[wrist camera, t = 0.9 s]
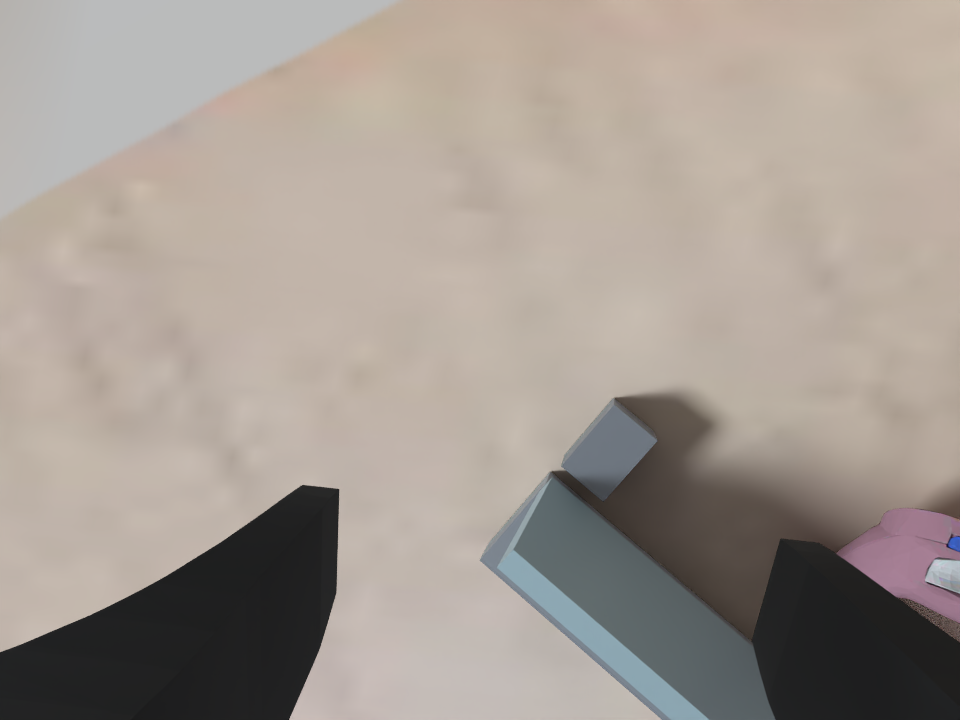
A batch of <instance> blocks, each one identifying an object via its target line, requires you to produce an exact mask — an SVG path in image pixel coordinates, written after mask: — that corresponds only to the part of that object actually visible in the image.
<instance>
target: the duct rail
mask: <svg viewBox="0 0 960 720" xmlns="http://www.w3.org/2000/svg"><path fill="white" fill-rule="evenodd" d="M657 441H658V440H657V438H656V435H655V433H654V431H653V430H652V429H651V428H650V427H648V426H647V425H646V424H645V423H644V422H642V421H641V420H640V419H639V418H637V417H636V416H635V415H634V414H633V413H631V412H630V411H629V410H628V409H626V408H625V407H624V406H623V405H622V404H620V403H619V402H618V401H617V400H616V399H614V398H613V399H612V400H611V401H610V403H609V404H608V405H607V406H606V407H605V408H604V410H603V411H602V412H601V413H600V414H599V415H598V417H597V418H596V419H595V420H594V421H593V422H592V424H591V425H590V426H589V427H588V428H587V429H586V431H585V432H584V433H583V434H582V435H581V436H580V438H579V439H578V440H577V441H576V442H575V443H574V444H573V446H572V447H571V448H570V449H569V450H568V451H567V453H566V454H565V455H564V459H563V462H562V465H561V467H563V468H564V469H565V470H566V471H567V472H569V473H570V474H571V475H572V476H573V477H574V478H576V479H577V480H578V481H579V482H580V483H582V484H583V485H584V486H585V487H586V488H587V489H589V490H590V491H591V492H592V493H593V494H595V495H596V496H597V497H598V498H599V499H601V500H602V501H603V502H604V501H605V500H606V498H607V497H608V496H609V495H610V494H611V493H612V492H613V491H614V489H615V488H616V487H617V486H618V485H619V484H620V483H621V481H622V480H623V479H624V478H625V477H626V476H627V475H628V474H629V472H630V471H631V470H632V469H633V468H634V467H635V466H636V464H637V463H638V462H639V461H640V460H641V459H642V458H643V457H644V455H645V454H646V453H647V452H648V451H649V450H650V449H651V448H652V446H653V445H654V444H655V443H656V442H657ZM552 477H553V478H554V479H555V480H557V481H558V482H559V483H560V484H561V485H562V486H564V487H565V488H566V489H567V490H568V491H570V492H571V493H572V494H573V495H574V496H575V497H577V498H578V499H579V500H580V501H581V502H583V503H584V504H585V505H586V506H587V507H588V508H590V509H591V510H592V511H593V512H594V513H596V514H597V515H598V516H599V517H600V518H601V519H603V520H604V521H605V522H606V523H607V524H608V525H610V526H611V527H612V528H613V529H614V530H616V531H617V532H618V533H619V534H620V535H621V536H623V537H624V538H625V539H626V540H627V541H629V542H630V543H631V544H632V545H633V546H634V547H636V548H637V549H638V550H639V551H640V552H642V553H643V554H644V555H645V556H646V557H647V558H649V559H650V560H651V561H652V562H653V563H655V564H656V565H657V566H658V567H659V568H660V569H662V570H663V571H664V572H665V573H666V574H668V575H669V576H670V577H671V578H672V579H673V580H675V581H676V582H677V583H678V584H679V585H681V586H682V587H683V588H684V589H685V590H686V591H688V592H689V593H690V594H691V595H692V596H694V597H695V598H696V599H697V600H698V601H699V602H701V603H702V604H703V605H704V606H705V607H707V608H708V609H709V610H710V611H711V612H712V613H714V614H715V615H716V616H717V617H718V618H719V619H721V620H722V621H723V622H724V623H725V624H727V625H728V626H729V627H730V628H731V629H732V630H734V631H735V632H736V633H737V634H738V635H740V636H741V637H742V638H743V639H744V640H745V641H747V642H748V643H749V644H750V645H751V646H753V643H752V642H751V641H750V640H749V639H748V638H747V637H745V636H744V635H743V634H742V633H741V632H740V631H738V630H737V629H736V628H735V627H734V626H732V625H731V624H730V623H729V622H728V621H727V620H725V619H724V618H723V617H722V616H721V615H719V614H718V613H717V612H716V611H715V610H714V609H712V608H711V607H710V606H709V605H708V604H706V603H705V602H704V601H703V600H702V599H701V598H699V597H698V596H697V595H696V594H695V593H693V592H692V591H691V590H690V589H689V588H688V587H686V586H685V585H684V584H683V583H682V582H680V581H679V580H678V579H677V578H676V577H675V576H673V575H672V574H671V573H670V572H669V571H667V570H666V569H665V568H664V567H663V566H662V565H660V564H659V563H658V562H657V561H656V560H654V559H653V558H652V557H651V556H650V555H649V554H647V553H646V552H645V551H644V550H643V549H641V548H640V547H639V546H638V545H637V544H636V543H634V542H633V541H632V540H631V539H630V538H628V537H627V536H626V535H625V534H624V533H623V532H621V531H620V530H619V529H618V528H617V527H615V526H614V525H613V524H612V523H611V522H610V521H608V520H607V519H606V518H605V517H604V516H602V515H601V514H600V513H599V512H598V511H597V510H595V509H594V508H593V507H592V506H591V505H589V504H588V503H587V502H586V501H585V500H584V499H582V498H581V497H580V496H579V495H578V494H576V493H575V492H574V491H573V490H572V489H571V488H569V487H568V486H567V485H566V484H565V483H563V482H562V481H561V480H560V479H559V478H558V477H556V476H555V475H554V474H553V473H552V472H549V474H548V475H547V476H546V477H545V478H544V479H543V481H542V482H541V483H540V484H539V485H538V486H537V488H536V489H535V490H534V491H533V492H532V493H531V495H530V496H529V497H528V498H527V499H526V500H525V502H524V503H523V504H522V505H521V506H520V507H519V509H518V510H517V511H516V512H515V513H514V514H513V516H512V517H511V518H510V519H509V520H508V521H507V523H506V524H505V525H504V526H503V527H502V528H501V530H500V531H499V532H498V533H497V534H496V535H495V537H494V538H493V539H492V540H491V541H490V542H489V544H488V545H487V547H486V549H485V551H484V553H483V555H482V557H481V559H480V561H481V562H482V563H483V564H485V565H486V566H487V567H488V568H489V569H490V570H491V571H493V572H494V573H495V574H496V575H497V576H498V577H499V578H501V579H502V580H503V581H504V582H505V583H506V584H507V585H509V586H510V587H511V588H512V589H513V590H514V591H515V592H517V593H518V594H519V595H520V596H521V597H522V598H523V599H525V600H526V601H527V602H528V603H529V604H530V605H531V606H533V607H534V608H535V609H536V610H537V611H538V612H539V613H541V614H542V615H543V616H544V617H545V618H546V619H547V620H549V621H550V622H551V623H552V624H553V625H554V626H555V627H557V628H558V629H559V630H560V631H561V632H562V633H563V634H565V635H566V636H567V637H568V638H569V639H570V640H571V641H573V642H574V643H575V644H576V645H577V646H578V647H579V648H581V649H582V650H583V651H584V652H585V653H586V654H587V655H589V656H590V657H591V658H592V659H593V660H594V661H595V662H597V663H598V664H599V665H600V666H601V667H602V668H603V669H605V670H606V671H607V672H608V673H609V674H610V675H611V676H613V677H614V678H615V679H616V680H617V681H618V682H620V683H621V684H622V685H623V686H624V687H625V688H626V689H628V690H629V691H630V692H631V693H632V694H633V695H634V696H636V697H637V698H638V699H639V700H640V701H641V702H642V703H644V704H645V705H646V706H647V707H648V708H649V709H650V710H652V711H653V712H654V713H655V714H656V715H657V716H658V717H660V718H661V719H662V720H671V719H670V718H669V717H667V716H666V715H665V714H664V713H663V712H662V711H661V710H659V709H658V708H657V707H656V706H655V705H654V704H653V703H651V702H650V701H649V700H648V699H647V698H646V697H645V696H643V695H642V694H641V693H640V692H639V691H638V690H636V689H635V688H634V687H633V686H632V685H631V684H630V683H628V682H627V681H626V680H625V679H624V678H623V677H622V676H620V675H619V674H618V673H617V672H616V671H615V670H614V669H612V668H611V667H610V666H609V665H608V664H607V663H606V662H604V661H603V660H602V659H601V658H600V657H599V656H598V655H596V654H595V653H594V652H593V651H592V650H591V649H590V648H588V647H587V646H586V645H585V644H584V643H583V642H582V641H580V640H579V639H578V638H577V637H576V636H575V635H573V634H572V633H571V632H570V631H569V630H568V629H567V628H565V627H564V626H563V625H562V624H561V623H560V622H559V621H557V620H556V619H555V618H554V617H553V616H552V615H551V614H549V613H548V612H547V611H546V610H545V609H544V608H543V607H541V606H540V605H539V604H538V603H537V602H536V601H535V600H533V599H532V598H531V597H530V596H529V595H528V594H527V593H525V592H524V591H523V590H522V589H521V588H520V587H519V586H517V585H516V584H515V583H514V582H513V581H512V580H510V579H509V578H508V577H507V576H506V575H505V574H504V573H502V572H501V571H500V570H499V569H498V568H497V567H498V565H499V563H500V561H501V559H502V558H503V556H504V554H505V552H506V550H507V549H508V547H509V545H510V543H511V541H512V540H513V538H514V536H515V534H516V532H517V531H518V529H519V527H520V525H521V523H522V522H523V520H524V518H525V516H526V514H527V513H528V511H529V509H530V507H531V505H532V504H533V502H534V500H535V498H536V496H537V495H538V493H539V491H540V490H541V489H542V488H543V487H544V486H545V484H546V483H547V482H548V481H549V480H550V479H551V478H552Z"/></svg>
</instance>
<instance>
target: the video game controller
mask: <svg viewBox="0 0 960 720" xmlns="http://www.w3.org/2000/svg"><path fill="white" fill-rule="evenodd" d="M836 554H837V555H839V556H840V557H842V558H843V559H845V560H846V561H847V562H849V563H850V564H852V565H853V566H854V567H856V568H857V569H859V570H860V571H861V572H863V573H864V574H866V575H867V576H868V577H870V578H871V579H872V580H874V581H875V582H876V583H878V584H879V585H880V586H882V587H883V588H885V589H886V590H887V591H889V592H890V593H891V594H893V595H894V596H895V597H897V598H907V599H910V600H912V601H915V602H917V603H919V604H921V605H923V606H925V607H927V608H929V609H931V610H933V611H935V612H937V613H939V614H941V615H943V616H945V617H947V618H949V619H951V620H954V621H956V622H958V623H960V519H958V518H954V517H951V516H948V515H945V514H941V513H936V512H931V511H927V510H922V509H911V508H899V509H893V510H890V511H887V512H886V513H884V515H883V518H882V520H881V522H880V524H879V525H877V526H875V527H872V528H871V529H869V530H868V531H866V532H865V533H863V534H862V535H860V536H859V537H857V538H856V539H854V540H853V541H851V542H850V543H848V544H847V545H846V546H844V547H843V548H842V549H841V550H839V551H838V552H837V553H836Z"/></svg>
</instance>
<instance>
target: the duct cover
mask: <svg viewBox="0 0 960 720" xmlns="http://www.w3.org/2000/svg"><path fill="white" fill-rule="evenodd" d="M497 568H498V569H499V570H500V571H501V572H502V573H504V574H505V575H506V576H507V577H508V578H509V579H510V580H512V581H513V582H514V583H515V584H516V585H517V586H519V587H520V588H521V589H522V590H523V591H524V592H525V593H527V594H528V595H529V596H530V597H531V598H532V599H533V600H535V601H536V602H537V603H538V604H539V605H540V606H541V607H543V608H544V609H545V610H546V611H547V612H548V613H549V614H551V615H552V616H553V617H554V618H555V619H556V620H557V621H559V622H560V623H561V624H562V625H563V626H564V627H565V628H567V629H568V630H569V631H570V632H571V633H572V634H573V635H575V636H576V637H577V638H578V639H579V640H580V641H582V642H583V643H584V644H585V645H586V646H587V647H588V648H590V649H591V650H592V651H593V652H594V653H595V654H596V655H598V656H599V657H600V658H601V659H602V660H603V661H604V662H606V663H607V664H608V665H609V666H610V667H611V668H612V669H614V670H615V671H616V672H617V673H618V674H619V675H620V676H622V677H623V678H624V679H625V680H626V681H627V682H628V683H630V684H631V685H632V686H633V687H634V688H635V689H636V690H638V691H639V692H640V693H641V694H642V695H643V696H645V697H646V698H647V699H648V700H649V701H650V702H651V703H653V704H654V705H655V706H656V707H657V708H658V709H659V710H661V711H662V712H663V713H664V714H665V715H666V716H667V717H669V718H670V719H671V720H775V717H774V715H773V712H772V710H771V707H770V705H769V702H768V699H767V696H766V692H765V689H764V685H763V682H762V678H761V675H760V671H759V667H758V663H757V659H756V655H755V651H754V647H753V646H751V645H750V644H749V643H748V642H747V641H745V640H744V639H743V638H742V637H741V636H740V635H738V634H737V633H736V632H735V631H734V630H732V629H731V628H730V627H729V626H728V625H727V624H725V623H724V622H723V621H722V620H721V619H719V618H718V617H717V616H716V615H715V614H714V613H712V612H711V611H710V610H709V609H708V608H707V607H705V606H704V605H703V604H702V603H701V602H699V601H698V600H697V599H696V598H695V597H694V596H692V595H691V594H690V593H689V592H688V591H686V590H685V589H684V588H683V587H682V586H681V585H679V584H678V583H677V582H676V581H675V580H673V579H672V578H671V577H670V576H669V575H668V574H666V573H665V572H664V571H663V570H662V569H660V568H659V567H658V566H657V565H656V564H655V563H653V562H652V561H651V560H650V559H649V558H647V557H646V556H645V555H644V554H643V553H642V552H640V551H639V550H638V549H637V548H636V547H634V546H633V545H632V544H631V543H630V542H629V541H627V540H626V539H625V538H624V537H623V536H621V535H620V534H619V533H618V532H617V531H616V530H614V529H613V528H612V527H611V526H610V525H608V524H607V523H606V522H605V521H604V520H603V519H601V518H600V517H599V516H598V515H597V514H596V513H594V512H593V511H592V510H591V509H590V508H588V507H587V506H586V505H585V504H584V503H583V502H581V501H580V500H579V499H578V498H577V497H575V496H574V495H573V494H572V493H571V492H570V491H568V490H567V489H566V488H565V487H564V486H562V485H561V484H560V483H559V482H558V481H557V480H555V479H554V478H553V477H552V478H551V479H550V480H549V481H548V482H547V483H546V484H545V486H544V487H543V488H542V489H541V490H540V491H539V493H538V495H537V496H536V498H535V500H534V502H533V504H532V505H531V507H530V509H529V511H528V513H527V514H526V516H525V518H524V520H523V522H522V523H521V525H520V527H519V529H518V531H517V532H516V534H515V536H514V538H513V540H512V541H511V543H510V545H509V547H508V549H507V550H506V552H505V554H504V556H503V558H502V559H501V561H500V563H499V565H498V567H497Z"/></svg>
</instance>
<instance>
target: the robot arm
mask: <svg viewBox="0 0 960 720" xmlns="http://www.w3.org/2000/svg"><path fill="white" fill-rule="evenodd" d="M338 514H339V489H334V488H325V487H316V486H307V485H302V486H300V487H299V488H297V489H296V490H294V491H293V492H292V493H290V494H289V495H287V496H286V497H285V498H283V499H282V500H280V501H279V502H278V503H276V504H275V505H273V506H272V507H271V508H269V509H268V510H267V511H265V512H264V513H262V514H261V515H260V516H258V517H257V518H255V519H254V520H253V521H251V522H250V523H248V524H247V525H245V526H244V527H242V528H241V529H240V530H238V531H237V532H235V533H234V534H232V535H231V536H229V537H228V538H227V539H225V540H224V541H222V542H221V543H219V544H218V545H216V546H214V547H213V548H211V549H209V550H208V551H206V552H205V553H203V554H201V555H200V556H198V557H197V558H195V559H193V560H192V561H190V562H188V563H187V564H185V565H184V566H182V567H180V568H179V569H177V570H176V571H174V572H172V573H171V574H169V575H167V576H166V577H164V578H162V579H160V580H159V581H157V582H155V583H153V584H151V585H149V586H148V587H146V588H144V589H142V590H140V591H138V592H136V593H134V594H132V595H130V596H129V597H127V598H125V599H123V600H121V601H119V602H117V603H115V604H113V605H111V606H109V607H107V608H105V609H103V610H100V611H98V612H96V613H94V614H92V615H90V616H87V617H85V618H83V619H80V620H78V621H76V622H73V623H71V624H69V625H66V626H64V627H61V628H59V629H57V630H54V631H52V632H50V633H47V634H45V635H43V636H40V637H38V638H36V639H33V640H31V641H28V642H26V643H24V644H21V645H19V646H16V647H13V648H11V649H8V650H5V651H3V652H0V720H289V718H290V716H291V714H292V712H293V709H294V707H295V705H296V702H297V700H298V698H299V696H300V693H301V691H302V689H303V686H304V684H305V682H306V679H307V677H308V675H309V673H310V670H311V668H312V666H313V663H314V661H315V659H316V656H317V654H318V651H319V649H320V646H321V643H322V640H323V636H324V633H325V630H326V626H327V623H328V620H329V616H330V613H331V609H332V606H333V602H334V599H335V595H336V586H337V550H338ZM752 643H753V647H754V651H755V655H756V659H757V663H758V667H759V671H760V675H761V678H762V682H763V685H764V689H765V692H766V696H767V699H768V702H769V705H770V707H771V710H772V712H773V715H774V717H775V720H960V643H959V642H958V641H957V640H955V639H954V638H952V637H951V636H949V635H948V634H947V633H945V632H944V631H942V630H941V629H940V628H938V627H937V626H935V625H934V624H933V623H931V622H930V621H928V620H927V619H926V618H924V617H923V616H921V615H920V614H919V613H917V612H916V611H915V610H913V609H912V608H910V607H909V606H908V605H906V604H905V603H904V602H902V601H901V600H900V599H898V598H897V597H895V596H894V595H893V594H891V593H890V592H889V591H887V590H886V589H885V588H883V587H882V586H880V585H879V584H878V583H876V582H875V581H874V580H872V579H871V578H870V577H868V576H867V575H866V574H864V573H863V572H861V571H860V570H859V569H857V568H856V567H854V566H853V565H852V564H850V563H849V562H847V561H846V560H845V559H843V558H842V557H840V556H839V555H837V554H836V553H834V552H833V551H831V550H830V549H828V548H826V547H825V546H823V545H821V544H820V543H815V542H806V541H797V540H788V539H780V543H779V546H778V550H777V553H776V557H775V560H774V564H773V567H772V571H771V574H770V578H769V582H768V585H767V589H766V592H765V596H764V599H763V603H762V606H761V610H760V614H759V617H758V621H757V624H756V628H755V631H754V635H753V638H752Z"/></svg>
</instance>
